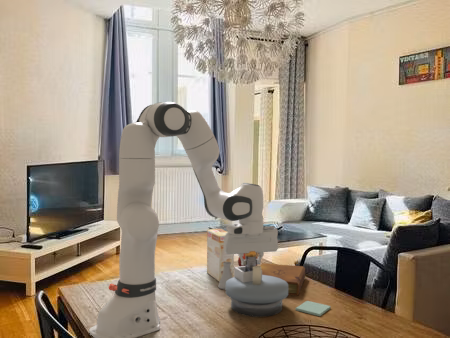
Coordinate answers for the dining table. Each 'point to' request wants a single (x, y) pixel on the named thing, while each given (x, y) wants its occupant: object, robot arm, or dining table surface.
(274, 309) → the base
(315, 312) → the mat
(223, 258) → the coffeecake box
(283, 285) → the dial
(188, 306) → the dining table surface
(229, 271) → the flask
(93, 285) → the dining table surface
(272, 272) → the diary
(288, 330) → the dining table surface
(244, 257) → the tomato
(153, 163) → the robot arm
